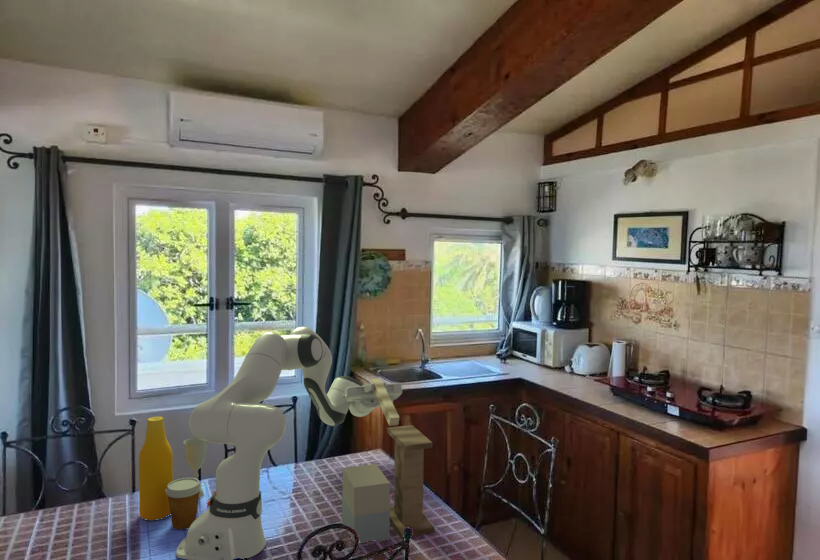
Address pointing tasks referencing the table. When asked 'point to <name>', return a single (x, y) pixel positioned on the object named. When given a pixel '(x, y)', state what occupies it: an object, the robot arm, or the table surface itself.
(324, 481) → the table surface
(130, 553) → the table surface
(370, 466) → the tower top block
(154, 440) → the beer bottle
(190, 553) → the robot arm
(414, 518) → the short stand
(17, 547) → the table surface
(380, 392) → the batten
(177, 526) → the disposable coffee cup
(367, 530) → the tower base block
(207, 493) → the table surface
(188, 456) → the chalice
